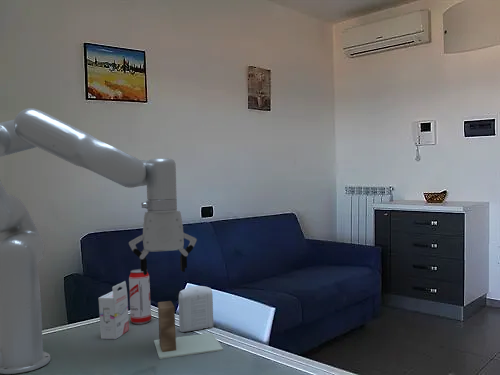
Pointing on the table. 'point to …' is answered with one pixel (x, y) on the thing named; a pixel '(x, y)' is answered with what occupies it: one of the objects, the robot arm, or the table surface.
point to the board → (191, 346)
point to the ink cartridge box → (114, 312)
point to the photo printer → (195, 308)
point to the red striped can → (139, 297)
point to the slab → (167, 326)
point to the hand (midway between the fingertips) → (164, 272)
